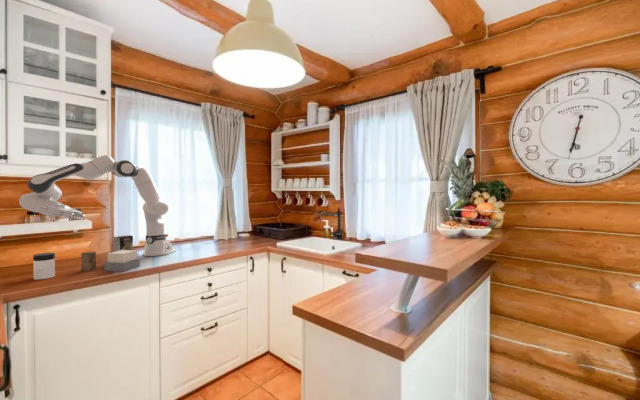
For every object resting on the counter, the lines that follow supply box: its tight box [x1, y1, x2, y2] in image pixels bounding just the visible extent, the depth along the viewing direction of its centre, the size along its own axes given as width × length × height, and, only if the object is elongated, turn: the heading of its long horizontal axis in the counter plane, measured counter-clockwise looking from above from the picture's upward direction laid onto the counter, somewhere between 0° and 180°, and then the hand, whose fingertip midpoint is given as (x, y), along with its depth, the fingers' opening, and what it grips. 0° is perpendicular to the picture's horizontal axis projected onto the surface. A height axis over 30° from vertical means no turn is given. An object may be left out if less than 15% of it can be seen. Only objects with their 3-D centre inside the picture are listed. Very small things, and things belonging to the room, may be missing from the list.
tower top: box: [107, 249, 138, 263], centre depth 165 cm, size 10×10×5 cm
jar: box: [32, 252, 56, 281], centre depth 147 cm, size 9×8×12 cm
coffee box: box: [112, 235, 134, 252], centre depth 183 cm, size 9×6×16 cm
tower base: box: [104, 257, 141, 272], centre depth 166 cm, size 12×12×5 cm
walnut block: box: [80, 251, 97, 272], centre depth 161 cm, size 4×4×10 cm
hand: (78, 216), depth 161 cm, fingers open, 8 cm apart
